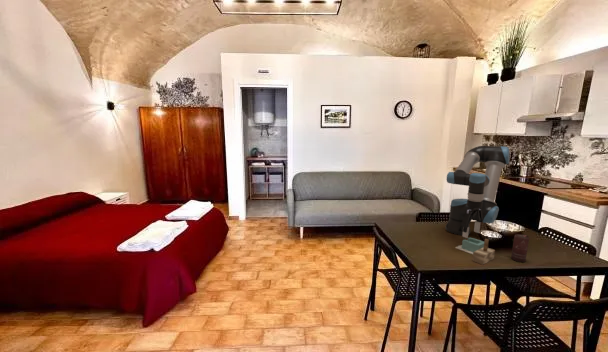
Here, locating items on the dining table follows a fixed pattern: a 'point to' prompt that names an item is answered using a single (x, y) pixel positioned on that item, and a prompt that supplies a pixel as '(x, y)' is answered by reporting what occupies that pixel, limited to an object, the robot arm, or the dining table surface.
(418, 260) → the dining table surface
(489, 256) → the hook stand
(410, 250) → the dining table surface
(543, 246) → the dining table surface
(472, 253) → the felt mat
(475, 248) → the c link
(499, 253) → the dining table surface
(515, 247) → the can
